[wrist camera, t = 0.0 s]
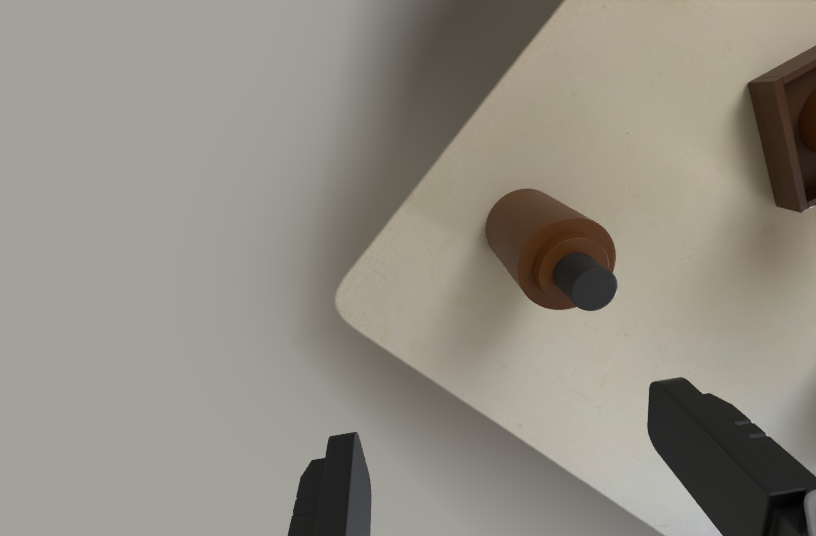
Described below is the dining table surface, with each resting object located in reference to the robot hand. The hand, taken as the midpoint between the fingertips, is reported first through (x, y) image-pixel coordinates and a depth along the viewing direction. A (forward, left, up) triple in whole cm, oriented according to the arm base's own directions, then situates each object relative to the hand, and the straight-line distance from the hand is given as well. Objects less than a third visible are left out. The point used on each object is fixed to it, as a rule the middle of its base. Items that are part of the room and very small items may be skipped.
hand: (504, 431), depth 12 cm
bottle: (+2, +7, -22) cm, 23 cm away
